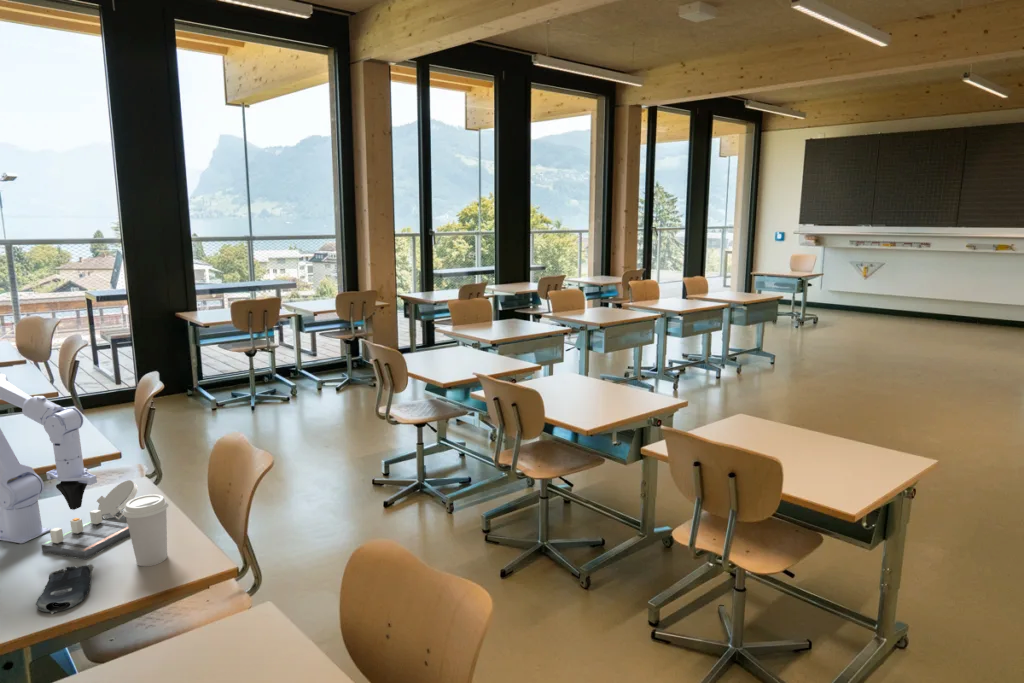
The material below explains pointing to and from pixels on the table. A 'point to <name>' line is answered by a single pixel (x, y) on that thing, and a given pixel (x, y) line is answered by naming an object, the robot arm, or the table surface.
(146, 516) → the coffee cup
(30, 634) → the table surface
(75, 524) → the block
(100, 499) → the tabbed white plastic disc
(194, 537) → the table surface
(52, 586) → the electronic device
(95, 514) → the block
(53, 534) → the block
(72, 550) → the grey slider switch panel
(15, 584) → the table surface
